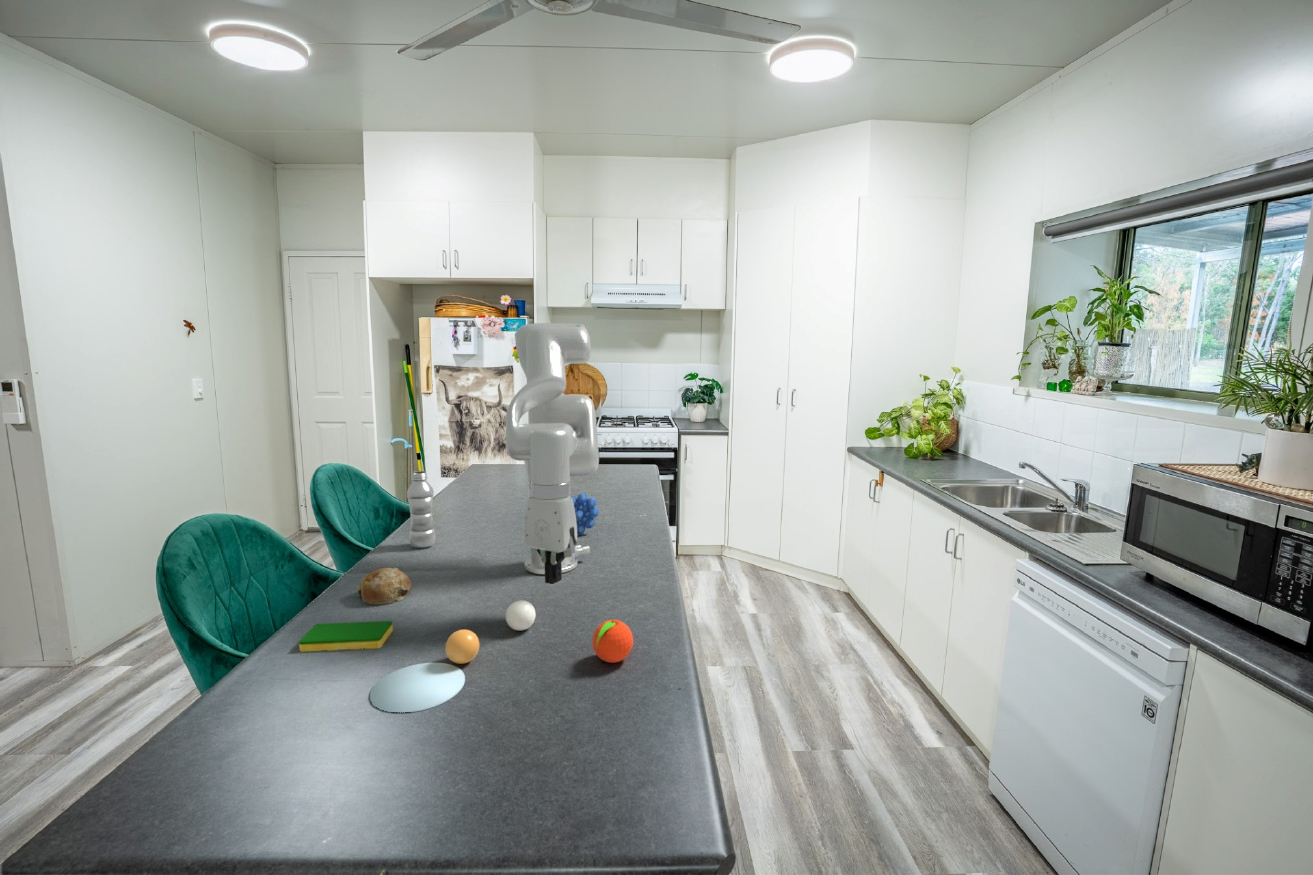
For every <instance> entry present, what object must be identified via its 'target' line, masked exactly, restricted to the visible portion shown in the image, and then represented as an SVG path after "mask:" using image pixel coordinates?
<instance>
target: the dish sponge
mask: <svg viewBox="0 0 1313 875" xmlns="http://www.w3.org/2000/svg"><path fill="white" fill-rule="evenodd" d="M393 629H394V627H393V621H392V620H379V621H377V620H376V621H354V622H333V623H332V622H331V623H316V624H314V625H313V626H312V628H310V629H309V631H307V633H305V635H303V636H302V637H301V639H300V640H298V644H299V645H298V646H299V651H300V653H301V652H302V653H305V652H319V651H320V652H322V651H321V650H328V651H339V650H338V649H350V650H365V649H366V650H368V649H380V648H382V647H383V645H384V644H385V642H386V641H387V640H388V638H389V636H390V635H391V634H392V632H393V631H394V630H393ZM360 648H361V649H360ZM363 648H365V649H363Z"/></svg>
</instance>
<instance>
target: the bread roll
mask: <svg viewBox="0 0 1313 875" xmlns="http://www.w3.org/2000/svg"><path fill="white" fill-rule="evenodd" d="M411 590H412V583H411V580H410V578H409V576H407V574H406V573H404V572H403V571H401V570H399V568H397V567H393V568H392V567H382V568H378V569H376V570H373V571H371V572H369V573H368V574H367V575H366V576H364V578H363V579H362V580H360V582H359V586H357V587H356V590H355V591H356V593H357V594H358V595H359V600H361V601H362V603H365V604H368V605H369V606H374V605H378V606H379V605H380V606H382V605H389V604H394V603H396V602H398V603H399V602H401V601H403V600H404V599H405V598H406V597H407V596H408V595H409V593H410V592H411Z"/></svg>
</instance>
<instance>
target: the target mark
mask: <svg viewBox="0 0 1313 875" xmlns="http://www.w3.org/2000/svg"><path fill="white" fill-rule="evenodd" d="M465 683H466V676H465V673H464V672H463V669H461V668H459V667H458V666H455V665H453V664H450V663H444V662H424V663H417V664H413V665H409V666H405V667H402V668H399V669H397V670H394V671H392V672H390V673H388V674H387V675H385V676H384V677H382V678H381V679H379V680H378V681H377V682H376V683H375V684H374V685H373V686H372V688H371V690H370V694H369V700H370V703H371V702H372V703H371V704H372V706H374V708H376V707H377V709H378V708H379V709H378V710H381V711H382V710H384V711H383V712H386V711H387V713H391V712H398V713H397V714H406V713H405V712H411V713H417V712H422V711H425V710H426V711H427V710H429V709H432V708H435V707H438V706H441V704H444V703H446V702H448V701H450V700H451V699H452V698H454V697H455V696H457V694H458V693H460V692H461V690H462V689H463V687H464V685H465ZM399 712H400V713H399ZM401 712H402V713H401ZM403 712H404V713H403Z"/></svg>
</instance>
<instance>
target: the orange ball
mask: <svg viewBox="0 0 1313 875" xmlns="http://www.w3.org/2000/svg"><path fill="white" fill-rule="evenodd" d="M479 650H480V639H479V637H478V636H477V634H476V633H475V632H474V631H472V630H469V629H459V630H457V631H454V632H453V633H452V634H450V636H449V637H448V638H447V641H446V643H445V653H446V656H447V658H448V659H449V660H450V661H451V662H453V663H456V664H459V665H460V664H461V665H464V664H467V663H469V662H471V661H472V660H474V659H475V658H476V657H477V655H478V652H479Z"/></svg>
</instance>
